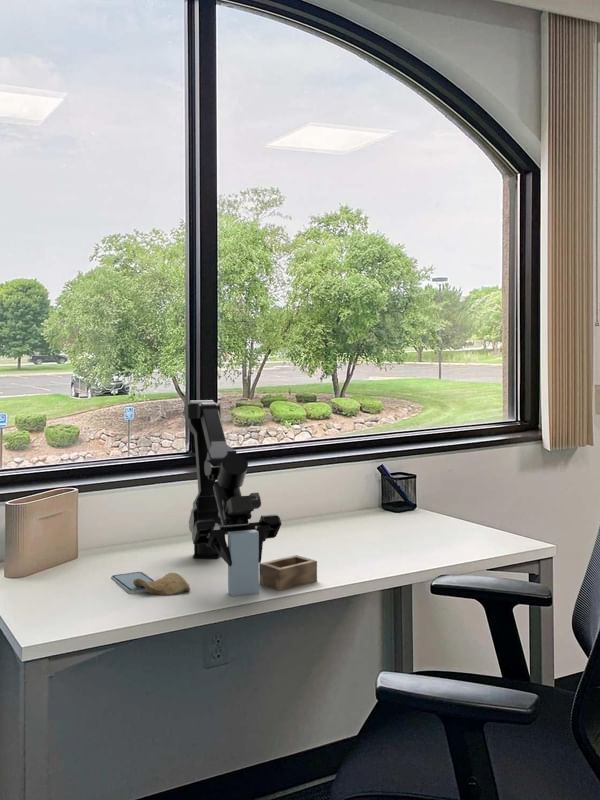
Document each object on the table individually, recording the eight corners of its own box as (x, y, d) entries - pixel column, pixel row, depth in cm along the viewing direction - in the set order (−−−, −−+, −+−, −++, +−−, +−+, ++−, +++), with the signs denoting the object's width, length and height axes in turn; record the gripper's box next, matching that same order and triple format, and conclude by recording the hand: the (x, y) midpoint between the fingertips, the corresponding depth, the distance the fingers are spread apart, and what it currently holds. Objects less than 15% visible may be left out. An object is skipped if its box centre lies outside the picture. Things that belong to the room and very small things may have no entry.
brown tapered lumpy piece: (168, 587, 175) (128, 584, 169) (173, 567, 176) (133, 564, 170) (192, 602, 167) (151, 599, 161) (197, 581, 167) (156, 578, 161)
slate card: (231, 596, 163) (231, 534, 163) (228, 592, 166) (227, 531, 165) (258, 593, 166) (258, 532, 165) (255, 589, 168) (254, 529, 167)
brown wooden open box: (279, 590, 167) (279, 569, 167) (259, 583, 172) (259, 563, 172) (316, 580, 174) (316, 560, 174) (296, 574, 180) (296, 555, 179)
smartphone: (141, 571, 182) (163, 586, 169) (141, 575, 182) (163, 590, 169) (109, 575, 178) (129, 591, 165) (109, 579, 178) (130, 595, 165)
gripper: (194, 483, 165) (208, 547, 155) (278, 477, 171) (296, 538, 162) (186, 513, 172) (199, 575, 163) (266, 507, 179) (283, 566, 170)
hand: (245, 563), depth 164 cm, fingers closed on slate card, 6 cm apart
